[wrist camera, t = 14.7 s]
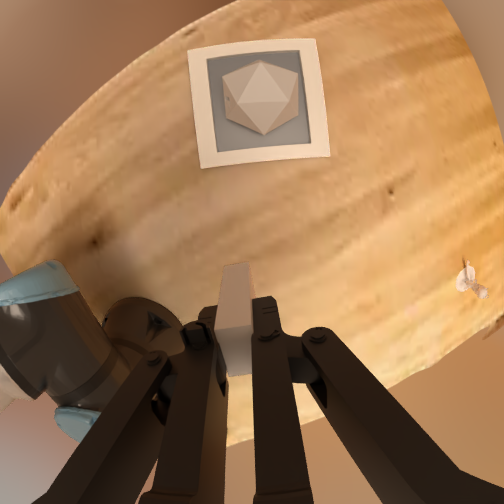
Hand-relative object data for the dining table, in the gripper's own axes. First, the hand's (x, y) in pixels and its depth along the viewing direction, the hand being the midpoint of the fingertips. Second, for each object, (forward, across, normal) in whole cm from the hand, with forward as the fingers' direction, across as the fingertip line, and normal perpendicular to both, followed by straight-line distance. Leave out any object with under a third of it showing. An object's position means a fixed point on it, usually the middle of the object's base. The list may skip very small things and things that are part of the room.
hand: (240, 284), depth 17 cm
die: (+20, +5, +14) cm, 25 cm away
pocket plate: (+21, +5, +14) cm, 26 cm away
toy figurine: (+21, +38, -17) cm, 46 cm away
